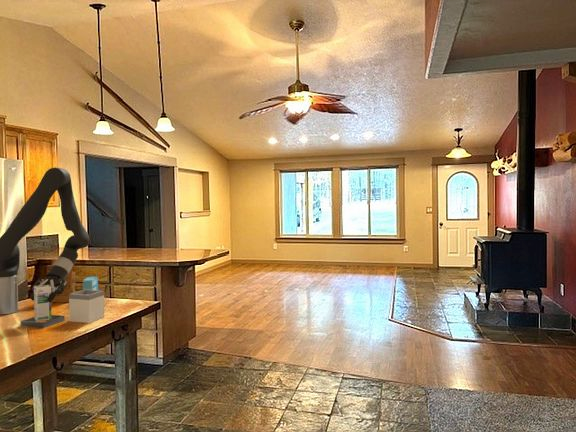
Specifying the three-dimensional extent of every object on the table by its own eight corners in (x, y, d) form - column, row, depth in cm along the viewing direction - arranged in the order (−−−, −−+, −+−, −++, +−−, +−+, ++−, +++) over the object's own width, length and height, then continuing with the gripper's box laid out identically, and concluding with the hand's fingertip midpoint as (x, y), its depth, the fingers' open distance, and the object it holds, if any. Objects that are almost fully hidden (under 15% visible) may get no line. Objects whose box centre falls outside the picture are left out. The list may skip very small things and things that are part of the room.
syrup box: (36, 322, 179) (36, 287, 178) (33, 318, 183) (33, 285, 183) (51, 319, 182) (51, 286, 182) (48, 316, 187) (48, 283, 186)
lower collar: (20, 325, 178) (20, 321, 178) (42, 318, 190) (42, 314, 189) (43, 327, 176) (43, 323, 176) (64, 320, 187) (64, 315, 187)
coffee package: (53, 299, 227) (52, 258, 226) (78, 298, 229) (77, 257, 228) (45, 303, 217) (45, 260, 216) (71, 302, 219) (71, 260, 218)
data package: (92, 303, 218) (92, 280, 217) (82, 303, 217) (82, 280, 217) (98, 298, 230) (98, 276, 229) (89, 298, 229) (89, 276, 228)
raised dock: (69, 321, 185) (69, 294, 185) (85, 315, 195) (85, 289, 195) (89, 323, 183) (88, 295, 183) (104, 316, 193) (104, 290, 192)
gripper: (42, 263, 191) (21, 294, 180) (69, 265, 187) (49, 297, 177) (51, 273, 196) (31, 304, 185) (78, 275, 193) (59, 306, 182)
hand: (40, 300), depth 181 cm, fingers closed on syrup box, 8 cm apart
